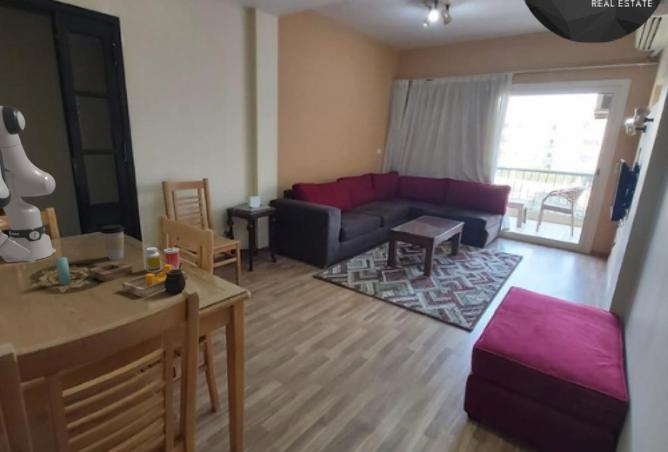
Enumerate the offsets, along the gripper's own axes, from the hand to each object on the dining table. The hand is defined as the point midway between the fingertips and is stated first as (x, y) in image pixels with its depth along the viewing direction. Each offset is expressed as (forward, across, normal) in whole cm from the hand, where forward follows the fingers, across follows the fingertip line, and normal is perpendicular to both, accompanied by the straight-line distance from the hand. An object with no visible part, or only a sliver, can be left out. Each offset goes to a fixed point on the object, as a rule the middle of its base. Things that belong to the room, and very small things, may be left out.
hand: (27, 258), depth 121 cm
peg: (+17, -1, -2) cm, 17 cm away
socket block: (+27, +5, +7) cm, 28 cm away
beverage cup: (+39, +21, +19) cm, 48 cm away
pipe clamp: (+30, +30, +9) cm, 43 cm away
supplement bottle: (+36, +15, +16) cm, 42 cm away
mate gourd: (+29, +40, +9) cm, 51 cm away
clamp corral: (+29, +29, +9) cm, 42 cm away
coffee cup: (+36, -13, +16) cm, 42 cm away
